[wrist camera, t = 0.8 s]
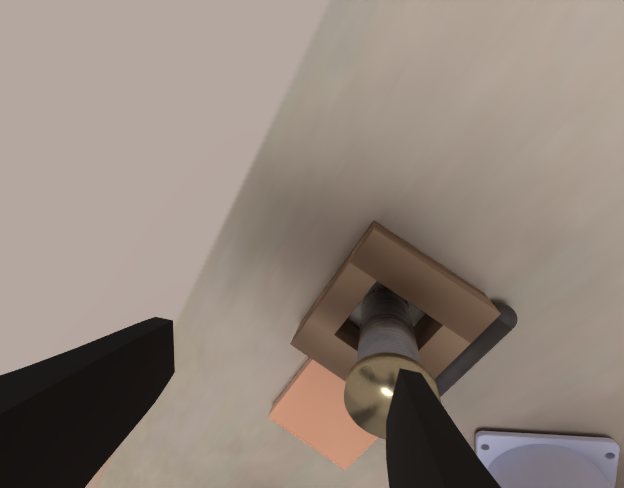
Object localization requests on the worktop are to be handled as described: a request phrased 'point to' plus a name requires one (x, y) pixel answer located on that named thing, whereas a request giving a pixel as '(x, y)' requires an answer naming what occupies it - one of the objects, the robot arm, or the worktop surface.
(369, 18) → the worktop surface
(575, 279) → the worktop surface
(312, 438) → the tile pad
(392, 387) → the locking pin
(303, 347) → the clamp block
